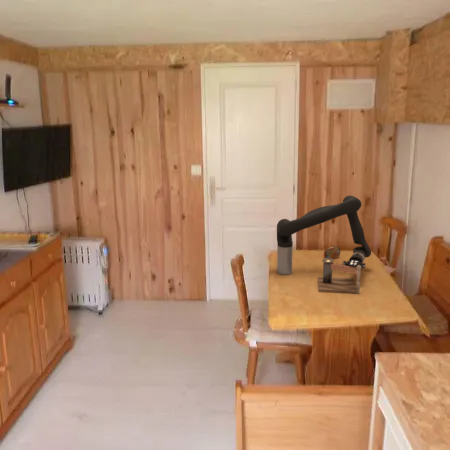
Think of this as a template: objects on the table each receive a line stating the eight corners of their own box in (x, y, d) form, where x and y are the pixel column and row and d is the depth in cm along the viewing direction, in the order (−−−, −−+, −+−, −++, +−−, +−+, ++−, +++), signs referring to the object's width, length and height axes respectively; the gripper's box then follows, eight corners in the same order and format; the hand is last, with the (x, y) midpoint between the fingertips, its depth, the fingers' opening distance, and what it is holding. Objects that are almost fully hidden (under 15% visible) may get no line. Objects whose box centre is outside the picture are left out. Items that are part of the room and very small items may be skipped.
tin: (326, 262, 303) (326, 250, 301) (322, 261, 305) (323, 249, 303) (340, 257, 312) (341, 245, 310) (336, 256, 314) (337, 244, 312)
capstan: (320, 281, 263) (320, 260, 260) (324, 278, 268) (325, 257, 265) (354, 289, 252) (355, 266, 249) (358, 285, 257) (359, 263, 254)
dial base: (317, 279, 273) (318, 253, 269) (356, 280, 269) (357, 255, 266) (318, 291, 254) (319, 264, 250) (360, 293, 250) (361, 266, 246)
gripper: (345, 252, 272) (339, 261, 257) (368, 255, 266) (363, 264, 251) (345, 264, 274) (338, 274, 259) (368, 267, 268) (363, 277, 253)
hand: (351, 269), depth 255 cm, fingers closed
